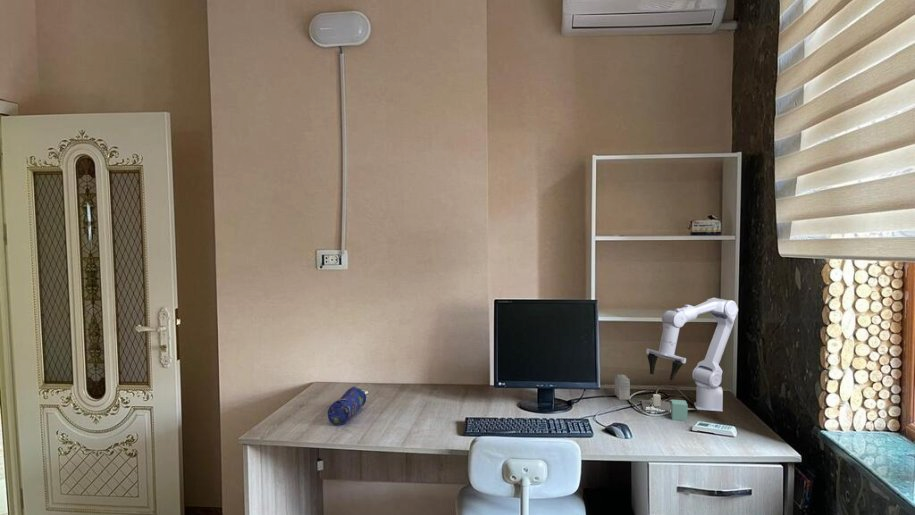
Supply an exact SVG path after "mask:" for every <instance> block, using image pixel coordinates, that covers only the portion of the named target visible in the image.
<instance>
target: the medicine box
mask: <svg viewBox="0 0 915 515" xmlns="http://www.w3.org/2000/svg"><path fill="white" fill-rule="evenodd" d="M630 381H631V380H630V378H628V376H626V374H615V375H614V395H615V396H616V397H617V398H618V400H622V401H630V400H631V399H630V398H631V397H630V396H631V395H630V393H631V391H630V389H631V388H630V386H631V383H630Z"/></svg>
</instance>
